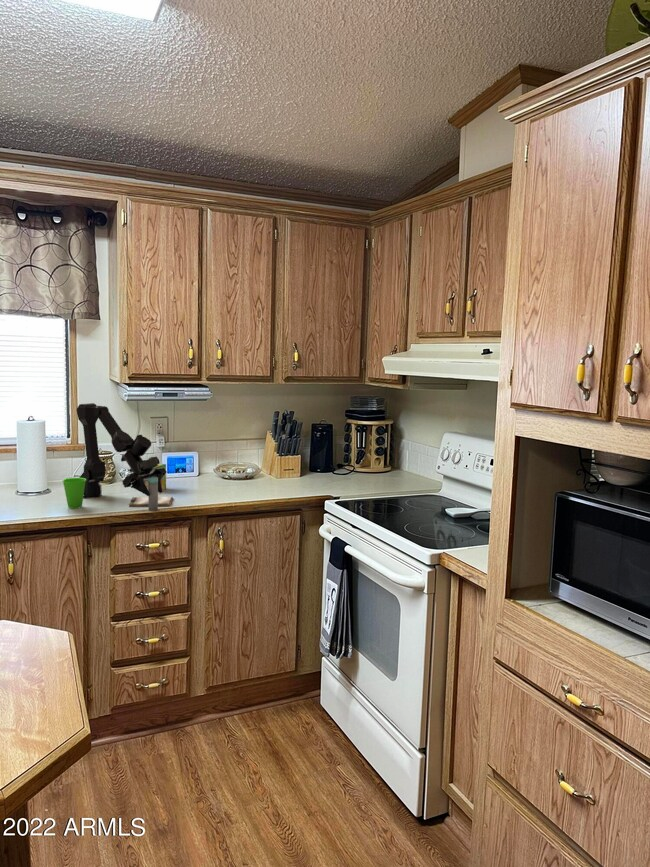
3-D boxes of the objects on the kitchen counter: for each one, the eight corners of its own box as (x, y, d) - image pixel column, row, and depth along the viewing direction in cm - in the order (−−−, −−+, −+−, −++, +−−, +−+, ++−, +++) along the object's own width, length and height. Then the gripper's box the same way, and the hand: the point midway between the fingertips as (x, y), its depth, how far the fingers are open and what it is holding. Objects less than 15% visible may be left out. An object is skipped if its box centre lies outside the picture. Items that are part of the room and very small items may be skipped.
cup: (91, 507, 262) (90, 480, 261) (69, 510, 255) (69, 483, 254) (80, 503, 268) (79, 476, 266) (58, 506, 261) (57, 479, 260)
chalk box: (158, 492, 290) (157, 459, 288) (138, 491, 291) (138, 458, 289) (167, 488, 299) (166, 456, 297) (148, 487, 300) (148, 455, 298)
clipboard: (129, 506, 264) (129, 502, 264) (133, 499, 277) (133, 494, 277) (170, 506, 267) (169, 501, 266) (172, 498, 279) (172, 494, 279)
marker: (147, 511, 258) (147, 478, 256) (148, 508, 262) (148, 476, 260) (157, 511, 259) (157, 478, 257) (158, 508, 262) (158, 476, 261)
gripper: (127, 453, 251) (147, 485, 247) (163, 447, 267) (183, 478, 263) (113, 471, 257) (133, 503, 252) (150, 464, 272) (169, 494, 268)
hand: (155, 494), depth 259 cm, fingers open, 6 cm apart
